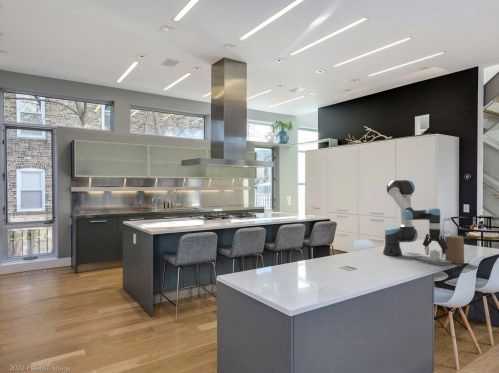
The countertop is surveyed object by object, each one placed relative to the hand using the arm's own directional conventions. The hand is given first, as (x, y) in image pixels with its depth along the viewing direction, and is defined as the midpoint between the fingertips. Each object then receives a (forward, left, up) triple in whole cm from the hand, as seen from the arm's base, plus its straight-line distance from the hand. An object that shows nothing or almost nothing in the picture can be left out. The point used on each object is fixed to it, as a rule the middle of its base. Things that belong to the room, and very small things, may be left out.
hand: (434, 256), depth 259 cm
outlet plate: (-2, +2, -5) cm, 6 cm away
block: (+3, +17, -5) cm, 18 cm away
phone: (-16, +4, -5) cm, 17 cm away
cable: (-18, +12, -5) cm, 22 cm away
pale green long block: (0, 0, -5) cm, 5 cm away
